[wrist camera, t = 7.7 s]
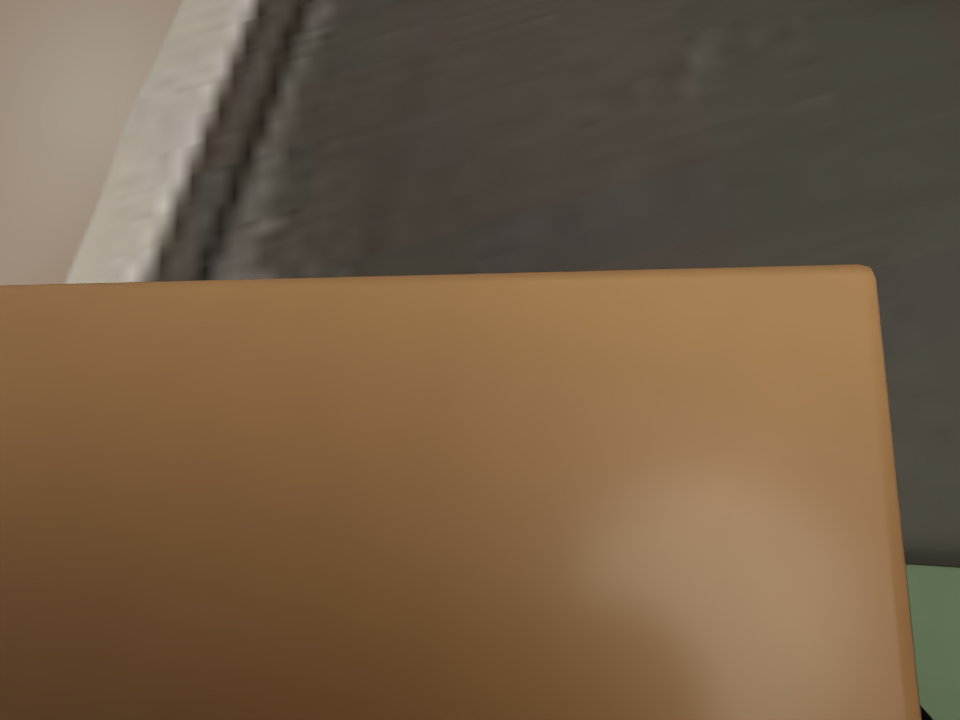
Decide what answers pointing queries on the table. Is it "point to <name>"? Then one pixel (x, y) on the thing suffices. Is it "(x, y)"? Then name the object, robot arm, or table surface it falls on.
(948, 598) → the green mat
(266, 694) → the maple block
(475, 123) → the table surface
